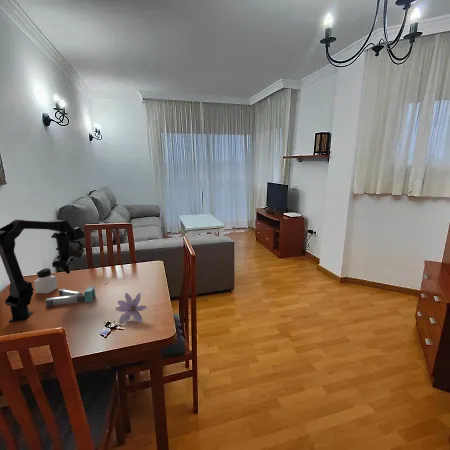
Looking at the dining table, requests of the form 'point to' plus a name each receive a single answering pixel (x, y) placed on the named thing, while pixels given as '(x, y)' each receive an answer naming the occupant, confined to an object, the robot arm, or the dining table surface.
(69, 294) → the tong arm
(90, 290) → the teal notched block
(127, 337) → the dining table surface
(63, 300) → the tong frame
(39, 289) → the medicine bottle
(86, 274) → the dining table surface
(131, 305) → the purple flower
